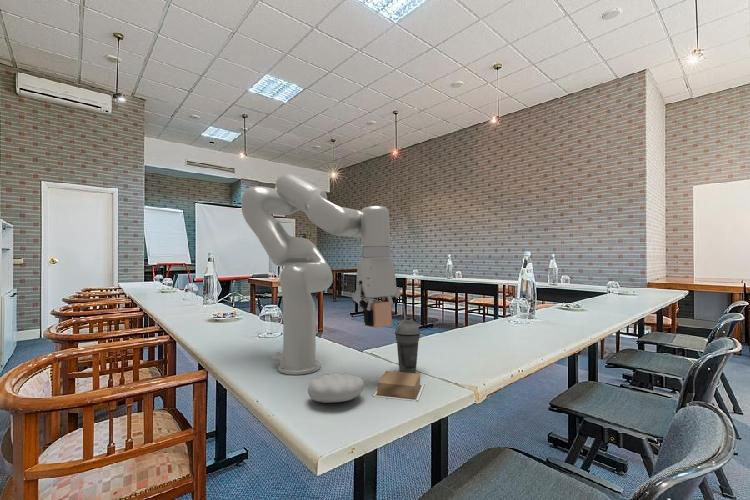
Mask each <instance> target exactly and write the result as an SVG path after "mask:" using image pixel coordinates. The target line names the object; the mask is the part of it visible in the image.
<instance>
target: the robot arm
mask: <svg viewBox="0 0 750 500" xmlns="http://www.w3.org/2000/svg"><path fill="white" fill-rule="evenodd" d="M275 181H276V182H275V186H274V187H275V188H273V187H267V186H262V185H260V186H258V185H255V186H250V187H248V188H247V189H245V190H244V193H243V195H242V197H241V204H240V205H241V207H240V208H241V213H242V216H243V219H244V220H245V222H246V224H247V225H248V227H249V228H250V229H251V231H252V233H254V235H255V236H256V237H257V239H258V241H259V243H260V244H261V245H262V248H263V249H264V251H265V252H266V254H267V255H268V258H269V259H270V260H271V261H272V263H273V264H274V265H275V266H278V267H283V269H282V270H281V272H280V274H279V284H280V288H281V295H282V312H283V313H282V318H283V319H282V321H283V324H282V327H283V328H282V329H283V331H282V332H283V334H282V343H283V344H282V346H283V348H282V351H283V352H279V351H274V352H273V353H272V357H271V360H272V361H278V362H279V364H278V365H277V371H278V372H279V373H281V374H285V375H294V376H295V375H297V376H298V375H306V374H307V375H308V374H311V373H315V372H316V371H318V370H320V368H322V367H321V365H322V364H321V361H319V360H317V357H316V352H317V351H316V350H317V349H316V346H317V344H316V343H317V339H316V335H317V334H316V331H317V330H316V328H317V325H316V324H317V322H316V319H317V316H316V315H317V314H316V313H317V311H316V303H315V301H314V299H313V296H312V293H319V292H324V291H326V290H328V289H329V288H330V287H331V286H332V284H333V279H334V278H333V276H334V275H333V272H332V269H331V267H330V266H329V263H328V262H327V261H326V259H325V258H324V257H323V255H322V254H321V252H320V251H319V249H318V248H317V246H316V244H314V242H312V241H311V240H309V239H308V238H306V237H300V236H299V237H298V236H291V235H290V234H289V233H288V232H287V231H286V229H285V228H284V226H283V225H282V224H281V222H280V221H279V220H278V219H276V218H275V217H274V216H273V215H276V216H281V217H282V216H289V215H292V214H294V213H296V212H298V211H302V212H303V213H305V214H306V217H307V219H308V220H309V221H310V222H311V223H312V224H313V225H315V226H316V227H318V228H319V229H321V230H323V231H325V232H326V233H328V234H329V235H330V234H331V235H333V236H335V237H349V238H360V240H361V259H359V260H358V264H357V269H356V270H357V271H356V280H355V281H356V284H355V285H356V287H355V288H356V289H355V291H354V293H353V295H352V296H351V299H352V300H353V301H354V302H355V303H357V304H358V305H359V307H360V308H361V310H363V322H364V326H365V325H367V326H366V327H370V326H373V325H374V323H373V310H371V307H372V302H373V301H374V299H380V298H381V301H387V302H391V314H392V315H393V310H392V308H394V305H395V303H396V302H397V299H398V298H400V296H401V294H402V293H401V291H400V290H399V287H397V279H396V270H395V265H394V262H393V258H392V257H391V255H393V254H394V250H393V249H391V233H390V232H391V230H390V212H389V209H388V207H386V206H384V205H383V206H382V205H381V206H380V205H369V206H365V207H363V208H362V209H361V210H359V209H353V208H349V207H342V206H339V205H337V204H334V203H333V202H331V201H330V200H328V194H327V192H326V191H325V190H324V189H323V188H321V187H319V184H318V183H317V182H316V181H315V180H313V179H312V178H309V177H305V176H302V175H298V174H295V173H285V174H282V175H281V176H279V177H278V178H277V179H276V180H275ZM362 298H363V299H362Z"/></svg>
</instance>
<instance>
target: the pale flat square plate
mask: <svg viewBox="0 0 750 500" xmlns="http://www.w3.org/2000/svg"><path fill="white" fill-rule="evenodd" d="M424 388H425V384H422V383H420V387H419V390H418V392H417V395H416V397H415V399H408V398H398V397H389V396H380V395H377V389H376V390H375V392H374V393H373V394H372V395H371V397H373V398H382V399H392V400H399V401H410V402H418V403H419V401H420V398H421V396H422V393H423V390H424Z"/></svg>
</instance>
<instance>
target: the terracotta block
mask: <svg viewBox="0 0 750 500" xmlns="http://www.w3.org/2000/svg"><path fill="white" fill-rule="evenodd" d="M371 310H373V323H374V325H373V326H369V327H371V328H375V329H378V328H384V327H391V326H392V325H393V324H392V322H393V321H392V318H393V313H392V314H391V302H387V301H383V300H373V302H372V307H371ZM364 326H366V327H368V326H367V325H365V324H364Z"/></svg>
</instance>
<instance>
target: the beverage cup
mask: <svg viewBox="0 0 750 500" xmlns="http://www.w3.org/2000/svg"><path fill="white" fill-rule="evenodd" d="M402 309H403V310H402V312H403V319H401V320H400V321H399V322H398V323H397V324H396V327H395V330H394V334H395V341H396V345H397V346H396V347H397V359H398V369H399V372H405V373H416V370H417V362H418V350H419V341H420V335H421V331H420V327H419V325H418V323H417V322H416V321H415V320H413V319H411V318H407V316H406V314H407V313H406V307H405V303H402Z"/></svg>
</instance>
